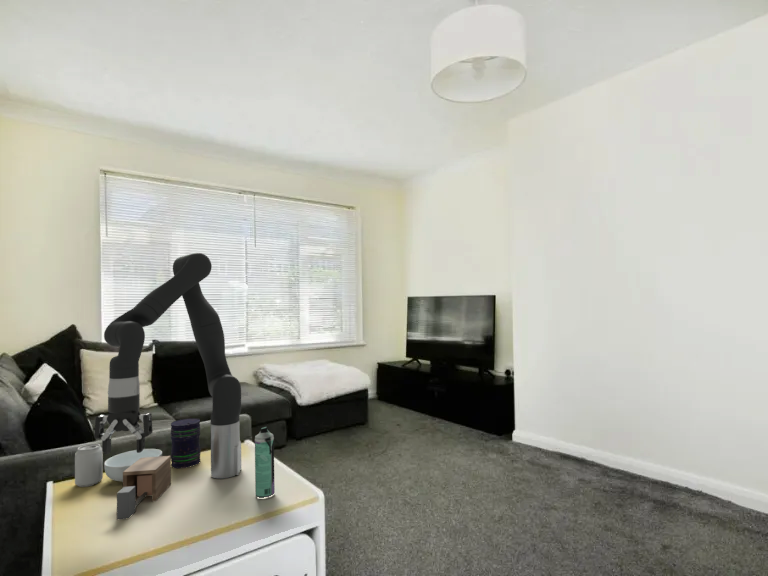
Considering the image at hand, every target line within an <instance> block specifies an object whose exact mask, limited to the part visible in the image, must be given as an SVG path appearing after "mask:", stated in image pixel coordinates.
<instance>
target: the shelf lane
mask: <svg viewBox="0 0 768 576" xmlns="http://www.w3.org/2000/svg"><path fill="white" fill-rule="evenodd" d="M171 463H172V462H171V455H162V456H160V457H144V458H140V459H139V460H137V461H136V462H135V463H134V464H132V465H131V466H130V467H129V468H127V469H126V470H125V471H124V472H123V482H122V488H123V487H129V486H135V492H136V495H137V476H138V475H139V474H152V495H151V496H152V497H151V501H152V502H157V501H158V499H159V498H160V497H162V495H163V494H164V492H166V490H167V489H168V488H169V487H170V486H171V484H172V467H171Z"/></svg>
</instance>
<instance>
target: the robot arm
mask: <svg viewBox="0 0 768 576" xmlns="http://www.w3.org/2000/svg"><path fill="white" fill-rule="evenodd" d="M211 271H212V262H211V260H210V258H209V257H208V256H207V255H206V254H205V253H202V252H192V253H189V254H185V255H183V256H180V257H178V258H176V259H175V260H174V261H173V263H172V273H173V276H172V277H171V278H169V279H168V280H167V281H165V282H164V283H163V284H161V285H159V286H158V287H155V288H154V289H153V290H152V291H150V292H149V293H148V294H147V295H145V296H144V297H143V298H142V299H141V300H140V301H138V303H137V304H136V305H135V306H134V307H133V308H131V309H129V310H128V311H126V312H124V313H123V314H121V315H119V316H118V317H116V318H114V320H112V321H111V322H110V323H109V324H108V325H107V326H106V328H105V330H104V332H103V333H104V334H103V339H104V341H105V343H107V344H108V345H109V346H111V347H118V348H119V349H118V354H117V355H116V356H113V357H111V359H110V361H109V367H108V368H109V375H108V376H109V378H108V386H107V387H108V388H107V412H108V415H105V414H100V415H98V416H96V417H95V420H94V421H95V423H94V434H93V436H94V439H95V440H98V439H99V440H100V441H101V443H102V446H101V448H102V451H103V453H104V455H109V454H111V452H112V438H111V436H112V435H113V434H114V433H115V432H117V433H118V432H129V431H130V433H131V434H133V435H134V436H135V437H136V438H137V439H136V450H137V453H140V452H142V451H143V449H146V437H147V438H148V436H151V435H152V434H153V417H152V415H153V414H152V412H148V413H146V414H145V413H143V414H142V413H140V407H141V406H140V402H141V401H140V400H141V399H140V397H141V395H140V389H141V388H140V385H141V384H140V383H141V382H140V376H139V374H140V372H139V371H140V369H139V367H140V364H139V361H140V358H141V356H142V352H143V347H144V344H145V338H146V334H145V333H146V332H145V330H144V329H145V327H149V326H152V325H153V324H155V323H156V321H158V320H159V318H161V316H162V315H163V314H164V313H165V312H166V311H167V310H168V309H170V307H171V306H172V305H174V304H175V302H177V301H178V300H179V299H180V298H181V297H182V299H183V302H184V305H185V309H186V313H187V315H188V318H189V321H190V327H191V330H192V335H193V338H194V340H195V343H196V346H197V349H198V352H199V355H200V356H201V359H202V362H203V364H204V369H205V374H206V381H207V388H208V392H209V395H210V396H211V397H212V410H211V411H212V412H211V415H210V476H211V477H212V478H214V479H228V478H231V477H235V475H238V476H239V474H240V472H241V471H240V470H242V441H241V440H240V436H241V435H240V415H241V412H242V387H241V383H240V381H239V379H238V378H236V377H235V376H233V374H232V372H231V370H230V367H229V364H228V361H227V359H226V341H225V333H224V329H223V325H222V322H221V319H220V316H219V314H218V312H217V311H216V310H215V308H214V307H213V306H212V305H211V304H210V302H209V301H208V300H207V298H206V297H205V295H204V294H203V291H202V288H201V285H200V282H201V281H203V280H204V279H206V278H207V277H208V276H209V275H210V274H211ZM140 420H141V422H142V423H143V427H142V425H141V424H140V422H139V421H140ZM106 423H108V424H109V426H108V428H107V429H106V430H105V425H106Z"/></svg>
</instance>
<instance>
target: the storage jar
mask: <svg viewBox="0 0 768 576" xmlns="http://www.w3.org/2000/svg"><path fill="white" fill-rule="evenodd" d="M200 436H201V420H200V418H196V417H195V418H193V417H192V418H189V417H188V418H181V419H177V420H174V421H171V422H170V440H171V450H170V456H171V466H172V467H171V468H173V467H174V468H173V469H185V468H186V467H187V468H191V467H194V466H193V465H195V466H197V465H198V464H200V463H201V446H200ZM199 462H200V463H199ZM196 464H197V465H196ZM190 466H191V467H190Z"/></svg>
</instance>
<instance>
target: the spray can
mask: <svg viewBox="0 0 768 576" xmlns="http://www.w3.org/2000/svg"><path fill="white" fill-rule="evenodd" d="M274 439H275V437H274V434H273V433H271V432H270V430H268V427H267V426H262V427H261V428H260V431H259V433H258V434H256V435H255V436H254V467H255V468H254V473H255V474H254V476H255V477H254V479H255V481H254V482H255V484H254V485H255V487H254V488H255V493H254V494H255V498H256V497H259V498H264V497H269V496H271V495H273V494H274V493H275V490H276V489H275V440H274ZM275 494H276V493H275Z"/></svg>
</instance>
